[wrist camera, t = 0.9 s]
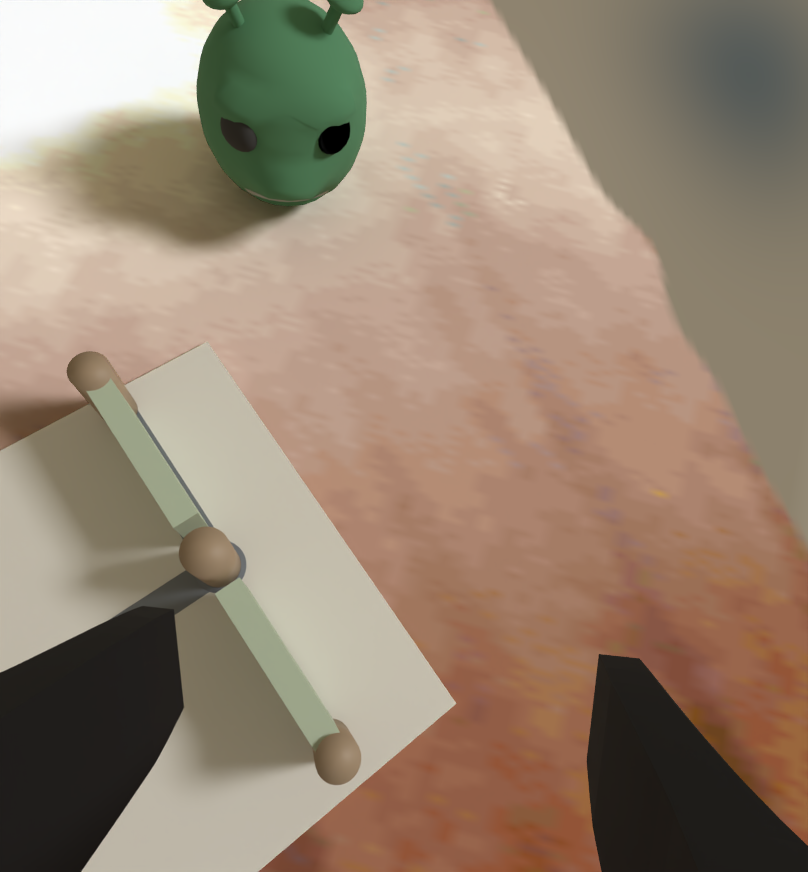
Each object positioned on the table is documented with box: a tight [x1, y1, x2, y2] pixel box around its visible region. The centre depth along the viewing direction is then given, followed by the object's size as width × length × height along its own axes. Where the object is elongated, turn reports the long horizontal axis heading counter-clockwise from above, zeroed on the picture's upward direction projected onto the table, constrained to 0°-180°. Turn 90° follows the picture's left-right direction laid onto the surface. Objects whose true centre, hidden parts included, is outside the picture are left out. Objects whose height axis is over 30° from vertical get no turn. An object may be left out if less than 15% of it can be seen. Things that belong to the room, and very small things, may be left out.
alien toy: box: [197, 0, 367, 206], centre depth 26 cm, size 7×8×10 cm
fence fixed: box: [67, 352, 241, 588], centre depth 23 cm, size 2×9×4 cm, turn 36°
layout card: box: [0, 342, 456, 872], centre depth 23 cm, size 14×18×1 cm
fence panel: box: [215, 577, 361, 785], centre depth 21 cm, size 1×7×4 cm, turn 36°
